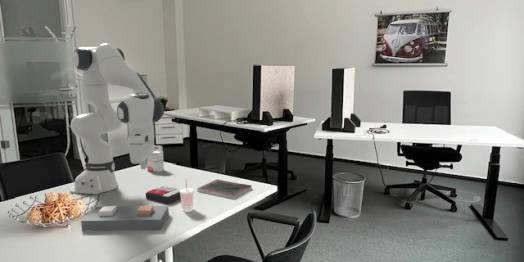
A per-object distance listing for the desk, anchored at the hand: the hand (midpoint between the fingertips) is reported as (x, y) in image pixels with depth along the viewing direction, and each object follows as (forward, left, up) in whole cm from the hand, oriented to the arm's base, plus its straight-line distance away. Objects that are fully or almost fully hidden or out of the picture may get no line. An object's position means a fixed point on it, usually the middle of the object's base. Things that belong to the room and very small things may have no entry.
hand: (144, 168), depth 149 cm
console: (-7, -3, -22) cm, 23 cm away
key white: (-15, -3, -20) cm, 25 cm away
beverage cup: (+15, +9, -22) cm, 28 cm away
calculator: (+2, +24, -22) cm, 33 cm away
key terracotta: (0, -3, -19) cm, 20 cm away
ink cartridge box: (-14, +69, -22) cm, 74 cm away
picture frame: (+29, +33, -22) cm, 50 cm away
